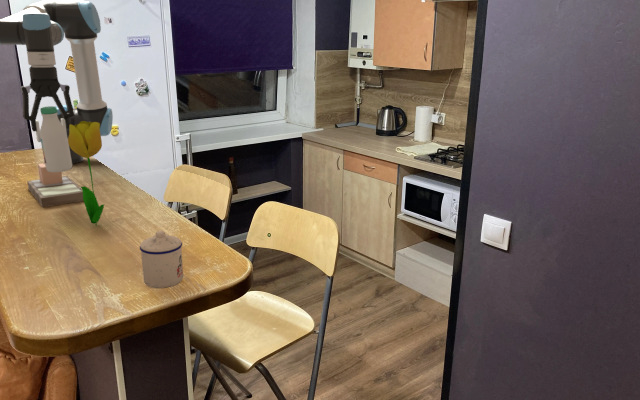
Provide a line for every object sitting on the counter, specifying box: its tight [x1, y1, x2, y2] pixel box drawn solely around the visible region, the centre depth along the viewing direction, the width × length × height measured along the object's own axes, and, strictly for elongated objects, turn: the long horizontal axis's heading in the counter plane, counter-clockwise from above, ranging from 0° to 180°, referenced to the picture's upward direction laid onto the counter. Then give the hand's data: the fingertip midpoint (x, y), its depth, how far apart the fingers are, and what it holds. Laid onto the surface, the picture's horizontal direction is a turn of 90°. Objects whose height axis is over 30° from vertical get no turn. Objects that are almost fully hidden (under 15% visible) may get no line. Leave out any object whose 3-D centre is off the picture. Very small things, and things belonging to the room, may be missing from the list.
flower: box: [68, 121, 105, 226], centre depth 149 cm, size 9×8×30 cm
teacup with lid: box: [139, 230, 184, 289], centre depth 120 cm, size 12×9×12 cm
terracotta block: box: [37, 163, 63, 185], centre depth 184 cm, size 6×6×6 cm
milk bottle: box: [39, 105, 73, 173], centre depth 168 cm, size 8×8×20 cm
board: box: [27, 175, 84, 208], centre depth 181 cm, size 24×13×3 cm, turn 37°
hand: (52, 140), depth 170 cm, fingers closed on milk bottle, 7 cm apart
